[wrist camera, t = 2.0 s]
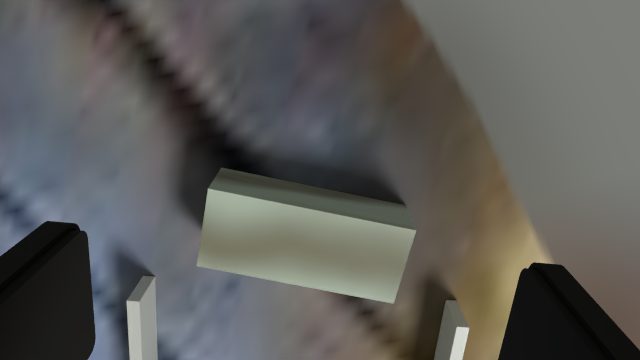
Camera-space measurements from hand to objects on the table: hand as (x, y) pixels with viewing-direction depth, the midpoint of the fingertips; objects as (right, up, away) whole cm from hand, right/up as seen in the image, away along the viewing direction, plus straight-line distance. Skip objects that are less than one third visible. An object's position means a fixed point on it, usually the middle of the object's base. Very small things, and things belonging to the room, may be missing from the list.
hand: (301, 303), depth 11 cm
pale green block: (0, 0, +22) cm, 22 cm away
